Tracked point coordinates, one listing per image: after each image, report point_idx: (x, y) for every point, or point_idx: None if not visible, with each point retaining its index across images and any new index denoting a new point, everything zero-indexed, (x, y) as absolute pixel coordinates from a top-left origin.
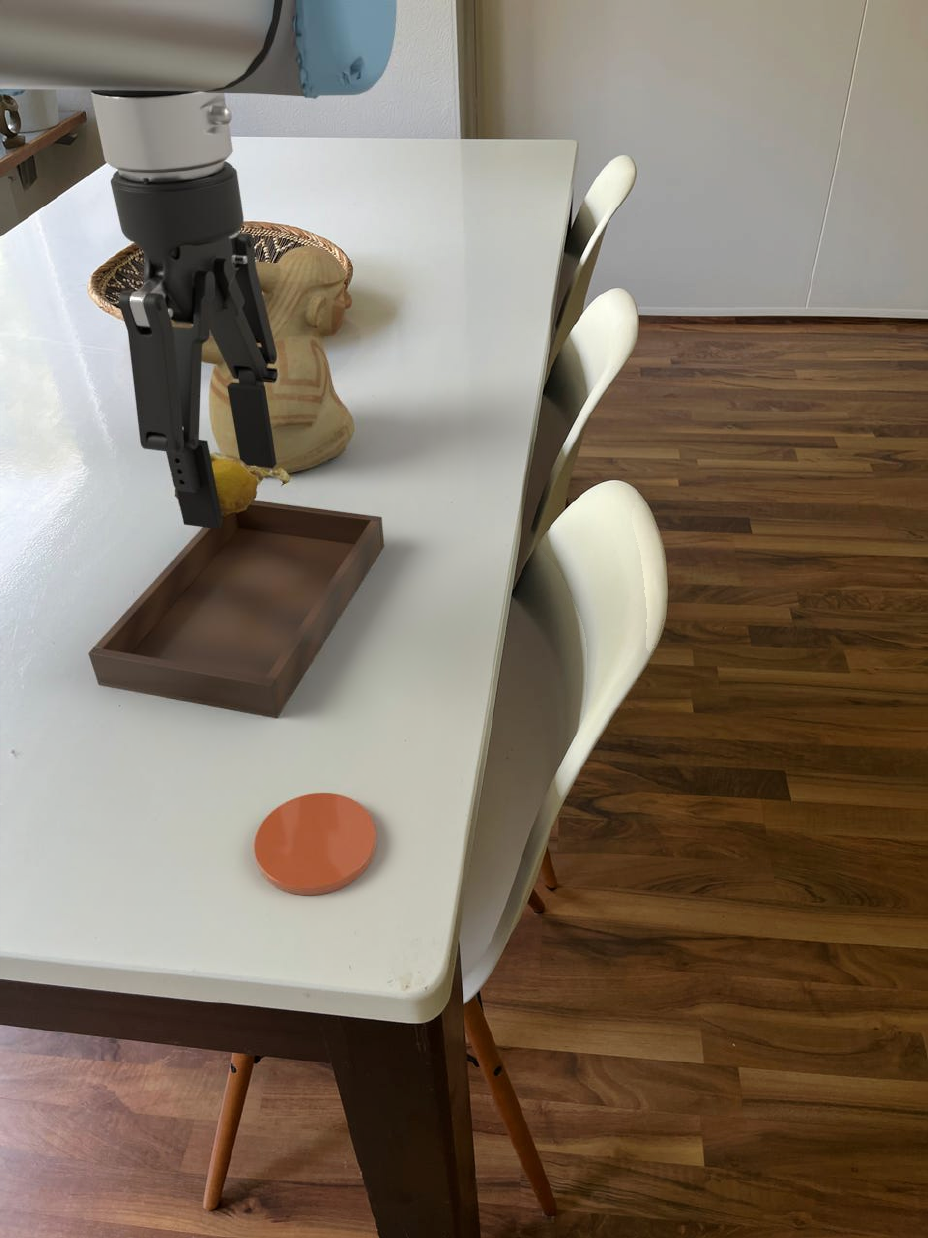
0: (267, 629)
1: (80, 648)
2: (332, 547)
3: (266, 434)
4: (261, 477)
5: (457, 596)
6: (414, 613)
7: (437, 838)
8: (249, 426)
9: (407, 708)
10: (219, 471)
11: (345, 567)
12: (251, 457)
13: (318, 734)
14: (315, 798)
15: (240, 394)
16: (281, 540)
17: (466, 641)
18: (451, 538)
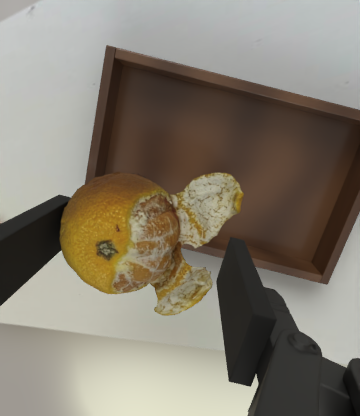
0: None
1: (167, 15)
2: (314, 226)
3: (220, 312)
4: (156, 287)
5: None
6: (214, 295)
7: (7, 313)
8: (230, 293)
9: (109, 294)
10: (80, 269)
11: None
12: (225, 260)
13: None
14: None
15: (241, 328)
16: (334, 176)
17: (180, 329)
18: (320, 320)
